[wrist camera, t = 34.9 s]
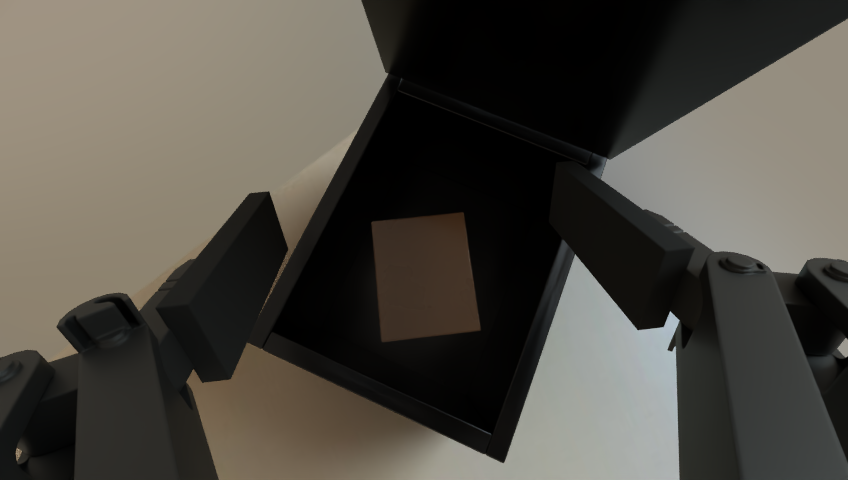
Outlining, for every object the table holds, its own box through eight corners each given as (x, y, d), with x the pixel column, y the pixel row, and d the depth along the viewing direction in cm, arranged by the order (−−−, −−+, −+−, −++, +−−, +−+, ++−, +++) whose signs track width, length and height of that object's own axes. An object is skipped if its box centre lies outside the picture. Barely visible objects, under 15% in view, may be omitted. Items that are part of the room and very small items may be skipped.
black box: (472, 411, 24) (504, 464, 15) (307, 335, 25) (244, 341, 16) (545, 212, 28) (608, 157, 19) (398, 151, 29) (388, 71, 20)
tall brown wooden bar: (445, 258, 26) (463, 211, 15) (454, 327, 25) (481, 330, 14) (390, 263, 26) (371, 221, 15) (397, 334, 25) (381, 342, 14)
